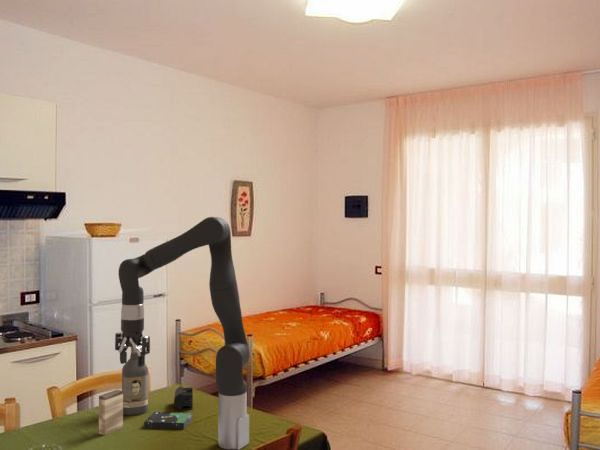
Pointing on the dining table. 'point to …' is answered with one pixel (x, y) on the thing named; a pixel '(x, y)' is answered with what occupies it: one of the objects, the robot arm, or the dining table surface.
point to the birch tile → (110, 412)
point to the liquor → (134, 386)
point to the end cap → (183, 398)
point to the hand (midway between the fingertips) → (132, 364)
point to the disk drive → (168, 420)
